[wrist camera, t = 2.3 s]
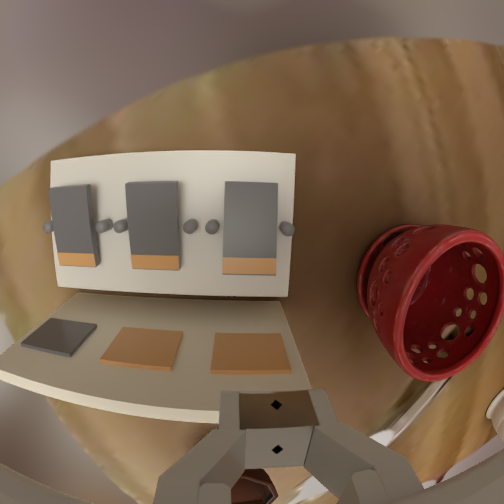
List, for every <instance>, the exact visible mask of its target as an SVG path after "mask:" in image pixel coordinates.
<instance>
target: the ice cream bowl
mask: <svg viewBox="0 0 504 504" xmlns="http://www.w3.org/2000/svg"><path fill="white" fill-rule="evenodd" d="M277 497H278V494H277V491H276V489H275V487H274V485H273V483H272V481H271V479H270V477H269V475H268V474H267V473H266V472H265V471H264V469H261V468H258V469H245V471H244V472H243V474H242V475H241V476H240V478H239V479H238V481H237V482H236V483H235V485H234V486H233V487H232V489H231V504H271V503H272V502H273V501H274V500H275V499H276V498H277Z"/></svg>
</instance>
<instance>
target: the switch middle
mask: <svg viewBox="0 0 504 504" xmlns="http://www.w3.org/2000/svg"><path fill="white" fill-rule="evenodd" d="M125 193H126V208H127V221H128V232H129V242H130V251H131V263H132V268H133V269H147V270H176V271H179V270H180V268H181V255H180V235H179V205H178V181H143V182H128V183H126V184H125Z"/></svg>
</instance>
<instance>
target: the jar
mask: <svg viewBox="0 0 504 504" xmlns="http://www.w3.org/2000/svg"><path fill="white" fill-rule="evenodd" d="M486 417H487V418H488V419H492V424H493V427H494V429H495V431H496V432H497V434H498V436H499V438H500V439H501V441H502V442H503V444H504V389H503V390H502V391H501V392H500V393H499V394H498V395H497V396H496V397H495V398H494V400H493V401H492V402H491V404H490V406H489V407H488V410H487V412H486Z"/></svg>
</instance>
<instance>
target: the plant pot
mask: <svg viewBox="0 0 504 504" xmlns="http://www.w3.org/2000/svg"><path fill="white" fill-rule="evenodd" d="M477 248H478V249H479V250H480V251H481V252H482V254H481V253H480V252H479V251H478V250H477ZM465 251H466V252H468V253H469V254H470V257H469V256H468V255H467V254H466V253H465ZM476 264H480V265H482V266H483V267H484V268H485V270H486V273H487V279H486V281H485V283H480V282H479V281H478V280H477V278H476V276H475V265H476ZM468 288H472V289H473V290H474V296H473V299H472V300H468V299H467V296H466V291H467V289H468ZM357 292H358V298H359V302H360V304H361V307H362V309H363V310H364V312H365V314H366V315H367V316H368V317H369V318H370V319H371V321H372V324H373V326H374V328H375V331H376V333H377V335H378V337H379V339H380V341H381V342H382V344H383V345H384V347H385V348H386V350H387V351H388V353H389V354H390V355H391V357H392V358H393V359H394V360H395V362H396V363H397V364H398V365H399V366H400V367H401V368H402V370H403V371H404V372H405V373H407V374H408V375H409V376H411V377H413V378H415V379H417V380H420V381H429V382H432V381H439V380H443V379H446V378H448V377H451V376H453V375H455V374H457V373H458V372H460V371H462V370H463V369H465V368H466V367H467V366H469V365H470V364H471V363H472V362H473V361H474V360H475V359H476V358H477V357H478V356H479V355H480V354H481V353H482V352H483V350H484V349H485V348H486V346H487V345H488V343H489V342H490V340H491V339H492V337H493V335H494V333H495V332H496V330H497V328H498V325H499V323H500V321H501V318H502V315H503V312H504V256H503V254H502V252H501V250H500V248H499V247H498V245H497V244H496V243H495V242H494V241H493V239H491V238H490V237H489V236H488V235H486V234H484V233H482V232H480V231H478V230H474V229H469V228H465V227H459V226H451V225H426V226H419V225H413V224H407V225H401V226H397V227H395V228H392V229H390V230H388V231H387V232H385V233H384V234H382V235H381V236H380V237H379V238H378V239H377V240H376V241H375V242H374V243H373V244H372V245H371V247H370V248H369V250H368V251H367V253H366V255H365V256H364V258H363V261H362V263H361V266H360V269H359V274H358V281H357ZM482 292H485V293H486V294H487V302H486V304H485V305H482V304H481V302H480V296H481V294H482ZM459 308H461V309H462V313H461V315H460V316H459V317H456V311H457V309H459ZM473 310H475V311H476V316H475V318H474V319H471V318H470V315H471V312H472V311H473ZM453 324H455V325H458V326H459V328H460V331H459V333H458V335H457V336H456V337H455V338H454V339H453V340H444V339H443V338H442V337H441V334H442V332H443V330H444V329H445V328H446V327H448V326H450V325H453ZM470 328H472V329H473V333H472V334H471V335H470V336H468V337H467V336H466V335H465V334H466V331H467V330H468V329H470ZM432 344H433V345H436V346H437V347H436V348H435V349H430V348H429V347H428V346H429V345H432ZM411 349H417V350H419V351H420V352H421V353H416V352H414V351H412V350H411ZM442 352H445V353H447V354H448V356H447V357H445V358H439V357H437V355H438V354H439V353H442ZM410 360H411V361H412V362H413V363H412V362H411V361H410ZM423 361H426V362H428V363H425V362H423Z"/></svg>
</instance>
